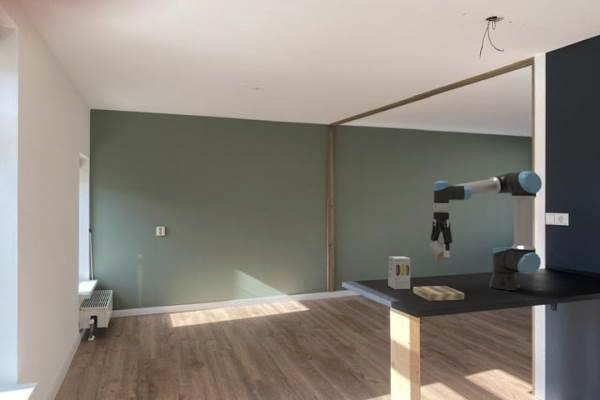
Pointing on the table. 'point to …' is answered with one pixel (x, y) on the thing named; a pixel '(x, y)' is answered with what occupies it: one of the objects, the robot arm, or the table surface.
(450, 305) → the table surface
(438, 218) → the robot arm
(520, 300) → the table surface
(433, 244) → the ceramic mug
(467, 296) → the table surface
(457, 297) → the square wooden tile
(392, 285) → the supplement box
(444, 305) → the table surface
